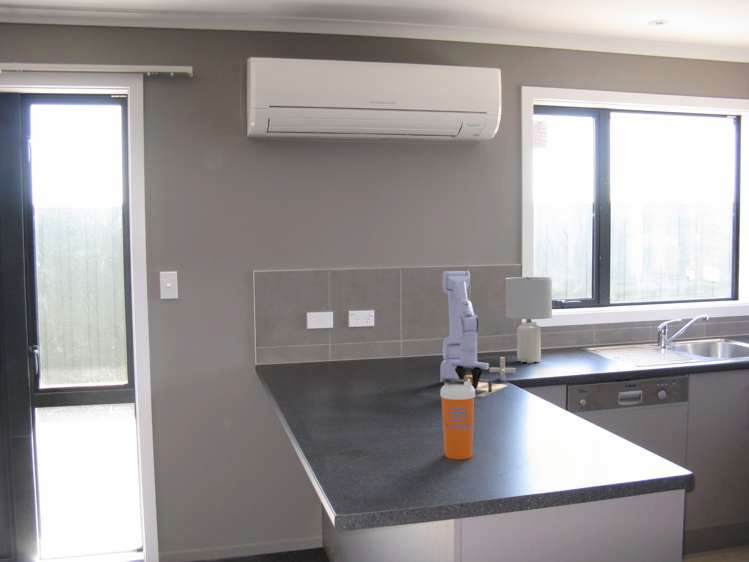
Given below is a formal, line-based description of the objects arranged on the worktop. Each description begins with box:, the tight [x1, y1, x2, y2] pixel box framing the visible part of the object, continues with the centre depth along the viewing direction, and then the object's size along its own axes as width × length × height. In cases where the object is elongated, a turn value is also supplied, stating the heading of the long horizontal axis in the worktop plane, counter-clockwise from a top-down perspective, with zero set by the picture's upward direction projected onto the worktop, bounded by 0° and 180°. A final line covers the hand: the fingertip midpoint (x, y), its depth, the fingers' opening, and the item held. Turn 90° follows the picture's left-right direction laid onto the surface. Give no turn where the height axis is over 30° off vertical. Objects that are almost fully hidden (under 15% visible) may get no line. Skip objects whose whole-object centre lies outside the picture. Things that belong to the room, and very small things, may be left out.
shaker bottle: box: [439, 378, 476, 461], centre depth 181 cm, size 9×9×20 cm
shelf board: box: [475, 378, 509, 401], centre depth 258 cm, size 14×22×5 cm, turn 146°
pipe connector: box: [489, 356, 517, 381], centre depth 273 cm, size 10×10×10 cm
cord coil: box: [464, 374, 473, 386], centre depth 252 cm, size 4×4×5 cm
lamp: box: [505, 276, 553, 364], centre depth 319 cm, size 20×20×39 cm
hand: (469, 387), depth 252 cm, fingers closed on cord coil, 4 cm apart
